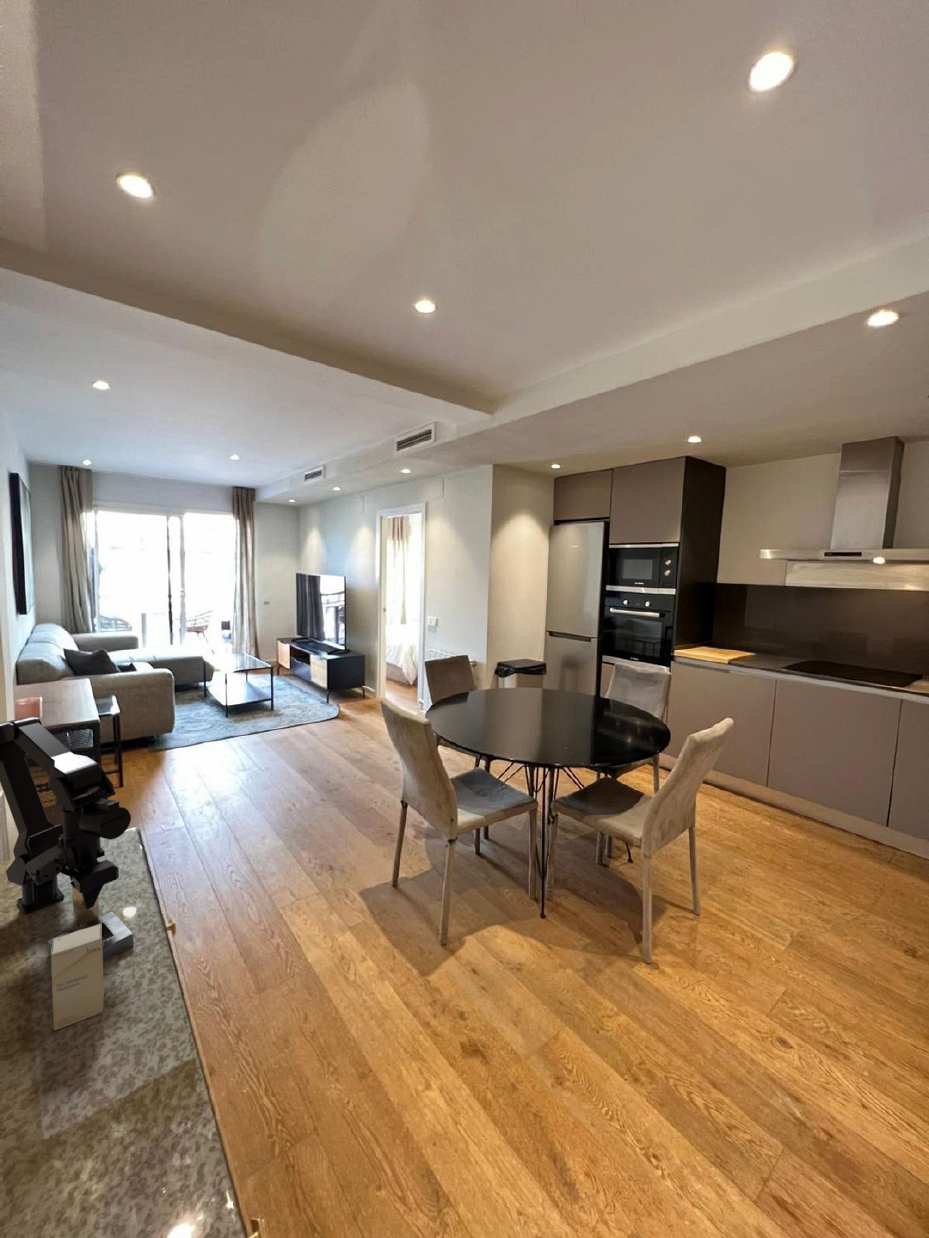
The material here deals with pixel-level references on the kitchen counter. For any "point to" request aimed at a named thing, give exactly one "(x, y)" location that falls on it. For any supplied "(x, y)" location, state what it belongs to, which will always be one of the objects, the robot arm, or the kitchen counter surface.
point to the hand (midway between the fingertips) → (86, 903)
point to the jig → (108, 935)
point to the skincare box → (77, 976)
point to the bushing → (83, 908)
